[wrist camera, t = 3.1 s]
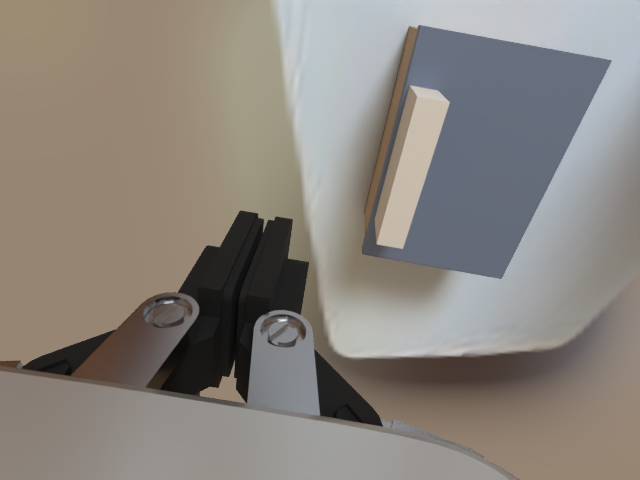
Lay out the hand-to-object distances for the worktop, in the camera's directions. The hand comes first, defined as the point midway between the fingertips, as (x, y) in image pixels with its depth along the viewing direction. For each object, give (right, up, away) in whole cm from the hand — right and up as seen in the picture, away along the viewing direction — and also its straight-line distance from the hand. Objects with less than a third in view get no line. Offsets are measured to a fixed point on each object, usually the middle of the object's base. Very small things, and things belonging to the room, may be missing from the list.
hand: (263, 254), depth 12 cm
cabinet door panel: (+10, +5, +10) cm, 15 cm away
